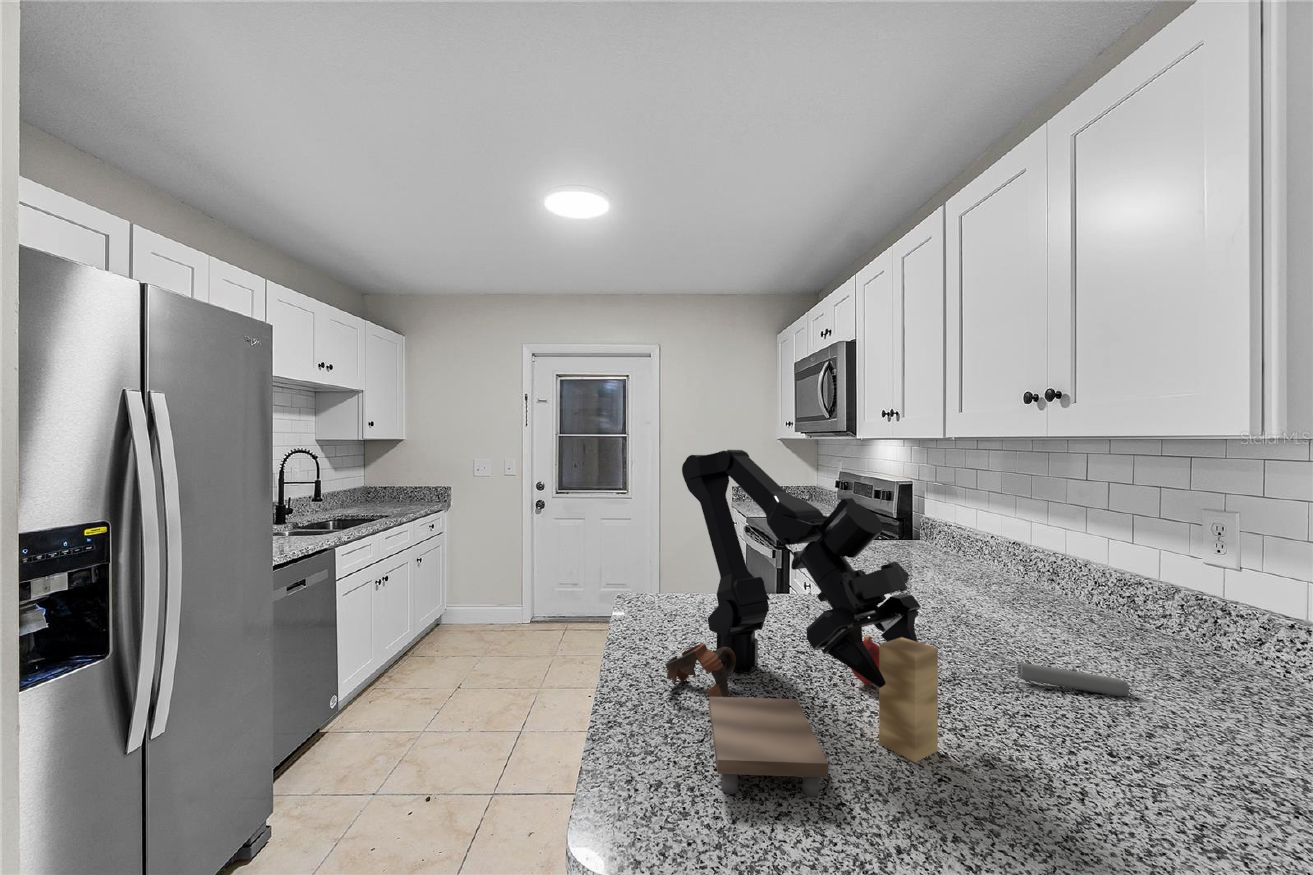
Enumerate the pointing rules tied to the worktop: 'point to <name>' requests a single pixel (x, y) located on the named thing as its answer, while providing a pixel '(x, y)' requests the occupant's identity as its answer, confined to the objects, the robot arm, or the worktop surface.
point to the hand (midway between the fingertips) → (904, 678)
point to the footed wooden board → (765, 741)
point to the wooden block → (908, 698)
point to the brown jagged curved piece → (704, 667)
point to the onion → (874, 653)
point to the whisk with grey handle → (1053, 675)
